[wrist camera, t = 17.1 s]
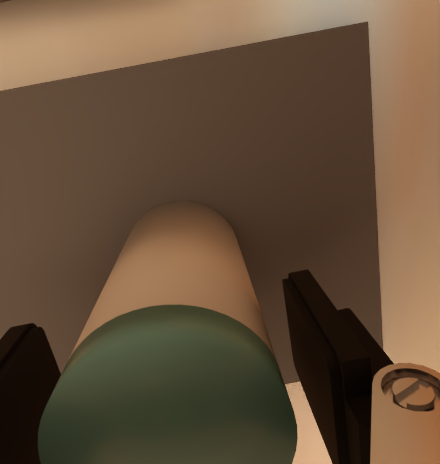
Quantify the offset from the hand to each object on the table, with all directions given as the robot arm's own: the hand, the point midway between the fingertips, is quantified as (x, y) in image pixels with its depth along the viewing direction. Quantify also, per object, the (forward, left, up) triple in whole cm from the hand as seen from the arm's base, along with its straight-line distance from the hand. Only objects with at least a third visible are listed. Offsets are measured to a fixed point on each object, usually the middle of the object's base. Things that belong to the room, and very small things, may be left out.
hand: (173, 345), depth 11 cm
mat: (0, 0, -7) cm, 7 cm away
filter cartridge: (0, 0, -7) cm, 7 cm away
